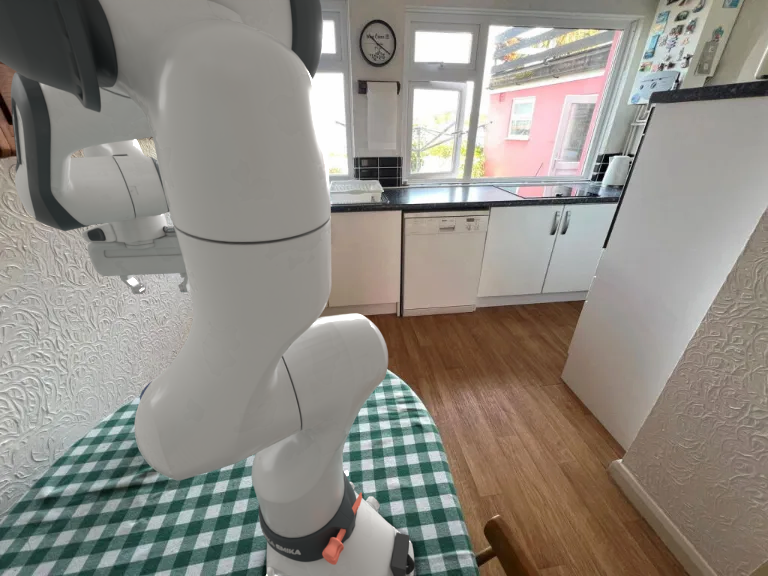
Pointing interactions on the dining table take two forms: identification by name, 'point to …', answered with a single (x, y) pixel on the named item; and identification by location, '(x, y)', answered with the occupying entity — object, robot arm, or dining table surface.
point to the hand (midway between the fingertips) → (163, 292)
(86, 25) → the robot arm
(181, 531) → the dining table surface
